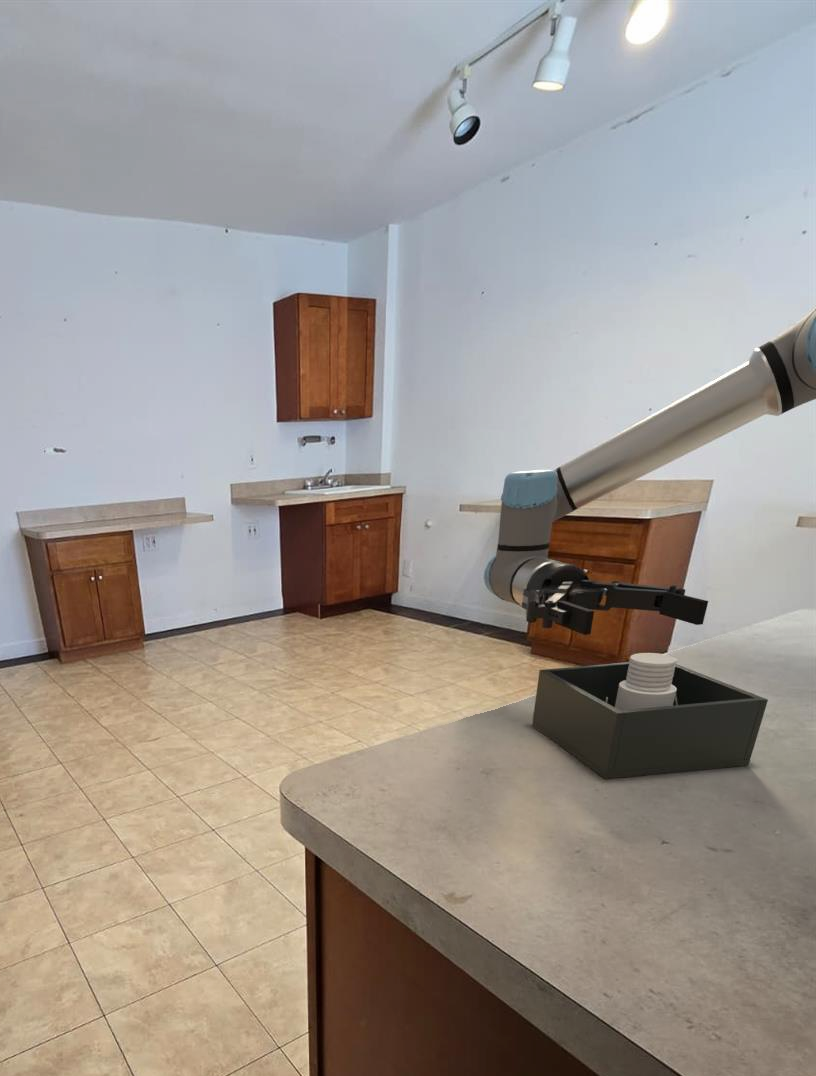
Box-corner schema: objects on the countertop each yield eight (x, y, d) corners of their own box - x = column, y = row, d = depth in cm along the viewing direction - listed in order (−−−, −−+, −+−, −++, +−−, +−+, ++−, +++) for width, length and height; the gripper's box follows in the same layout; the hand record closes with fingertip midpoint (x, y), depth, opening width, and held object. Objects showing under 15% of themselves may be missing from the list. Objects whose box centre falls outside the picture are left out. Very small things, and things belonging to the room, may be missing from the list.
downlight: (602, 745, 77) (617, 665, 72) (597, 724, 82) (610, 649, 78) (680, 751, 74) (701, 668, 69) (669, 729, 79) (687, 651, 75)
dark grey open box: (651, 714, 86) (663, 658, 83) (748, 765, 71) (768, 699, 68) (531, 725, 86) (539, 669, 82) (604, 779, 71) (617, 713, 67)
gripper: (628, 607, 95) (740, 640, 76) (465, 621, 94) (537, 659, 75) (638, 554, 92) (758, 575, 73) (469, 568, 91) (545, 594, 72)
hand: (646, 618), depth 74 cm, fingers open, 13 cm apart
